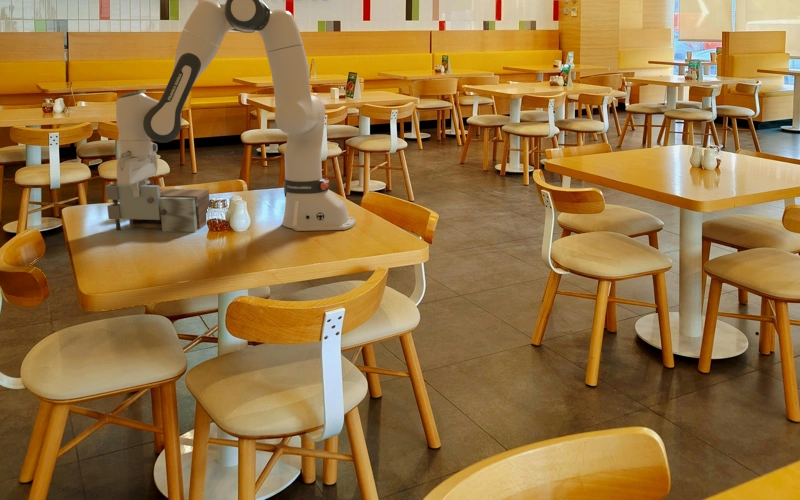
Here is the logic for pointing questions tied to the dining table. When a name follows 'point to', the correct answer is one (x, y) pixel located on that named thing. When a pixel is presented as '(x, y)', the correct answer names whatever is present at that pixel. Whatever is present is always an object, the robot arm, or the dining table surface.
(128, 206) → the door
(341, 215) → the robot arm
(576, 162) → the dining table surface
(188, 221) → the cabinet
